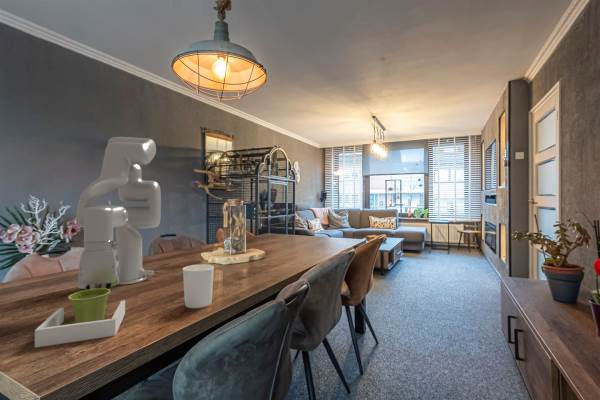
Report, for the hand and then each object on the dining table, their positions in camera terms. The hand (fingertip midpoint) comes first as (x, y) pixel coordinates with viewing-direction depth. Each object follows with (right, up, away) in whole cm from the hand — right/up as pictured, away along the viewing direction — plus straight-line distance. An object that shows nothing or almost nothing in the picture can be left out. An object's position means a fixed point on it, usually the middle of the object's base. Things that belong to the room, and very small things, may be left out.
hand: (99, 305), depth 92 cm
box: (+6, -1, -13) cm, 14 cm away
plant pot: (+5, -2, -11) cm, 12 cm away
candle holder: (+29, -2, +5) cm, 30 cm away
